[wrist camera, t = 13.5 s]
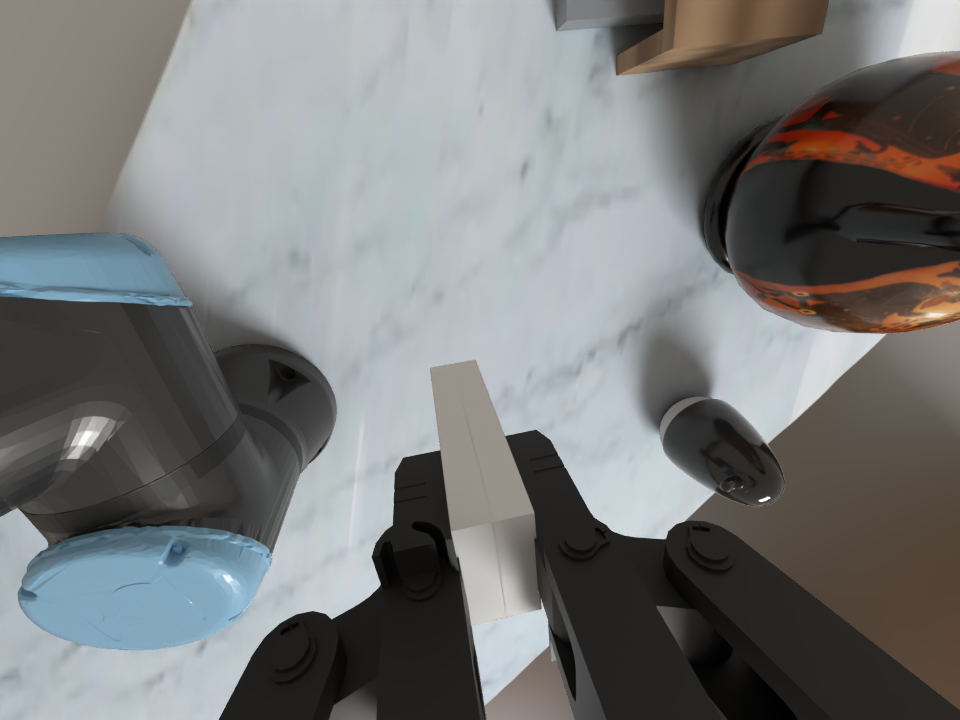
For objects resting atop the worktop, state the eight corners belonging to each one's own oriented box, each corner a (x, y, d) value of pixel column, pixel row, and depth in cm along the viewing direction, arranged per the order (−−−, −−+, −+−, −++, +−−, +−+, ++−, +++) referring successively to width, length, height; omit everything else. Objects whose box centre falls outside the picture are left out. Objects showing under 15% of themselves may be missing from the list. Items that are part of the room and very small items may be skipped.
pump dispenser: (663, 380, 51) (756, 453, 38) (728, 389, 54) (837, 461, 40) (635, 445, 55) (710, 532, 42) (697, 450, 58) (787, 535, 44)
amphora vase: (888, 83, 40) (1672, -69, 15) (818, 290, 50) (1241, 405, 25) (696, 84, 38) (1284, -102, 12) (660, 304, 47) (957, 451, 22)
